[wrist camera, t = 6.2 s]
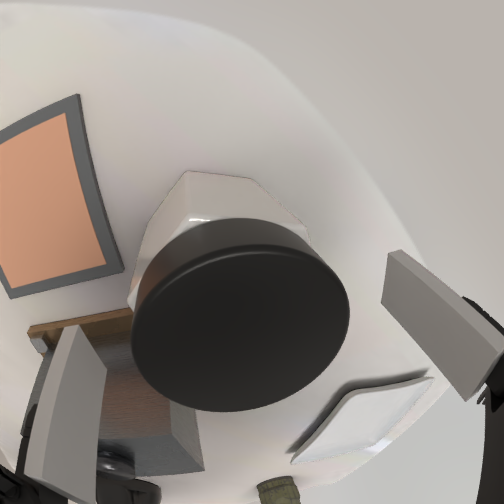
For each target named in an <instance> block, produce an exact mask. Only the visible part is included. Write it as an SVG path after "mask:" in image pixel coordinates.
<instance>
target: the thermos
mask: <svg viewBox="0 0 504 504" xmlns="http://www.w3.org/2000/svg"><path fill="white" fill-rule="evenodd" d="M257 489H258V491H259V498H260V501H261V504H301V503H300V494H299V491H298V489H297V486H296V485H295V484H294V481H293V478H292V477H291V476H283V477H278V478H273V479H270V480H267V481H264V482H262V483H260V484H258V485H257Z"/></svg>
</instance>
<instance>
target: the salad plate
mask: <svg viewBox="0 0 504 504" xmlns="http://www.w3.org/2000/svg"><path fill="white" fill-rule="evenodd" d="M434 380H435V378H434V377H421V378H416V379H413V380H409V381H405V382H401V383H396V384H391V385H386V386H380V387H373V388H365V389H357V390H353V391H351V392H349V393H348V394H346V395H345V396H344V397H343V398H342V399H341V401H340V402H339V403H338V404H337V406H336V407H335V408H334V410H333V411H332V412H331V413H330V415H329V416H328V417H327V418H326V420H325V421H324V422H323V423H322V424H321V425H320V427H319V428H318V429H317V430H316V431H315V432H314V433H313V434H312V436H311V437H310V438H309V439H308V440H307V441H306V442H305V443H304V444H303V445H302V446H301V447H300V448H299V449H298V450H297V452H296V453H295V454H294V456H293V457H292V459H291V464H292V465H293V464H300V463H306V462H312V461H317V460H322V459H327V458H331V457H336V456H340V455H344V454H347V453H351V452H354V451H357V450H361V449H364V448H367V447H370V446H373V445H375V444H376V443H378V442H379V441H380V440H381V439H382V438H383V437H384V436H385V435H386V434H387V433H388V432H389V431H390V430H391V429H392V428H393V427H394V426H395V425H396V424H397V423H398V422H399V421H400V420H401V419H402V418H403V417H404V416H405V415H406V414H407V413H408V412H409V411H410V409H411V408H412V407H413V406H414V405H415V404H416V403H417V401H418V400H419V399H420V398H421V397H422V395H423V394H424V393H425V392H426V391H427V389H428V388H429V387H430V386H431V384H432V383H433V382H434Z"/></svg>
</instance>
